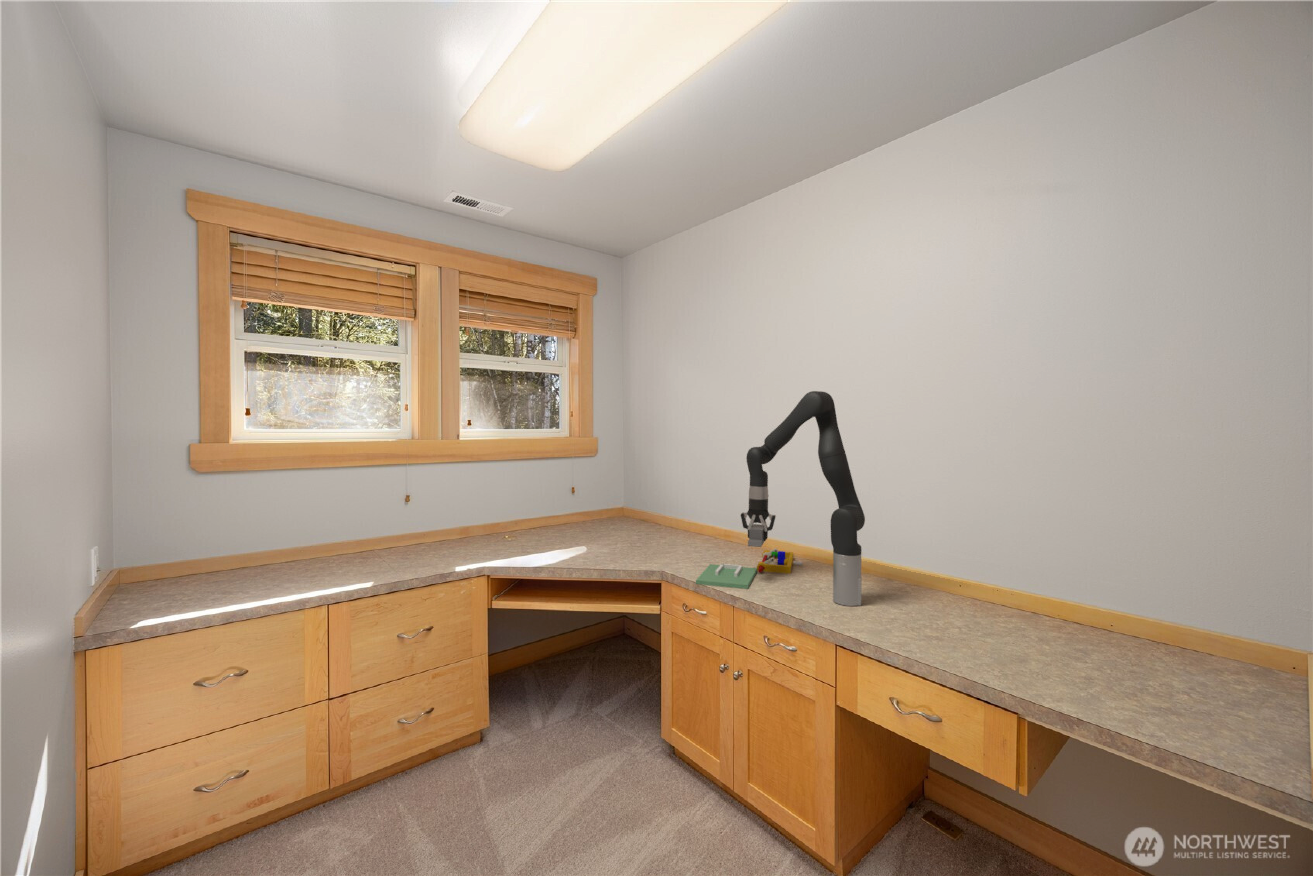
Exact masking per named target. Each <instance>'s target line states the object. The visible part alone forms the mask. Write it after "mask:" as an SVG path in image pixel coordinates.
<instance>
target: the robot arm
mask: <svg viewBox="0 0 1313 876" xmlns="http://www.w3.org/2000/svg"><path fill="white" fill-rule="evenodd" d="M834 401H835V400H834V399H833V397H832V396H831V394H830V393H828V392H827V391H818V390H813V391H812V390H811V391H809V392H807V393H806V394H804V396H803V397H802V398H801V399H800V400H799V401H798V403H797V404H796V405H795V407H794V408H793V410H792V411H791V412H790V413H789V414H788V416H787V417H785V419H784V420H783V421H782V422H781V423H780V424H779V425H778V426H776V427H775V429H773V430H772V431H771V432H770V433H769V434H768V435H767V436H766V437H765V438H764V441H763V442H764V444H763V445H761V446H753V447H751V448H749V449H748V451H747V453H746V464H747V468H748V473H749V489H748V510H747V512H741V513H740V519H741V524H742V528H743V529H746V530H747V538H748V539H749V529H750V528H751V527H752V526H753V524H757V523H758V524H761V525H762V526H763V528H764V541H765V542H766V540H768V538H769V537H768V535H769V531H772V530H773V528H774V525H775V522H776V521H775V520H776V517H777V516H776V515H775V514H771V513H770V512H769V486H768V484H769V476H768V475H769V474H768V472H767V471H766V470H764V469H763V465H766V464H769V463H770V462H771V461H773V459H774V458H775V457H776V455H777V454H778V453H779V451H780V450H781V449H782V448H784V447H785V446H786V445H787V444H788V443H789V442H790V441H791V440H792V439H793V437H794V436H795V434H796V433H797V431H798V430H799V428H800V427H801V426H803V424H805V423H806V422H808V421H810V420H811V419H812V418H815V420H816V424H817V427H818V432H819V435H818V436H819V438H818V449H817V456H818V461H819V464H820V468H821V471H822V474H823V476H824V477H825V479H826V481H827V482H828V484H829V485H830V487H831V489H832V490H833V492H834V494H835V497H836V501H837V506H838V508H837V509H835V510H834V511H833V512H832V514H831V516H830V517H831V518H830V542H831V545H832V548H833V549H832V550H833V551H832V552H833V553H832V561H833V562H832V602H834V604H838V605H840V606H841V605H842V606H847V607H856V606H862V546H861V545H860V544H859V543H858V532H859V531H860V530H861V529H863V527H864V526H865V522H866V516H865V514H864V510H863V508H862V505H861V502H860V500H859V497H858V495H857V491H856V488H855V484H854V480H853V477H852V473H851V470H850V465H849V462H848V457H847V454H846V451H845V447H844V443H843V440H842V436H841V432H840V429H839V428H840V427H839V424H838V420H837V413H836V406H835V402H834ZM747 517H748V518H749V519H750V522H749V524H748V523H747ZM768 518H769V520H770V523H769V526H768V524H767V519H768Z"/></svg>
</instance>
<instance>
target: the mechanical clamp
mask: <svg viewBox="0 0 1313 876" xmlns="http://www.w3.org/2000/svg"><path fill="white" fill-rule="evenodd" d="M761 556H762V561H759V562H758V563H757V566H756V568H757V573H760V574H761V573H762V572H765V573H766V572H767V573H778V574H791V573H792V569H793V565H796V566H804V565H803V563H804V562H803V561H798V560H797V561H796V560H794V551H793V552H792V551H791V552H789V551H780V550H778V549H777V548H776V547H775V548H773V549H772V550H769V549H765V550H763V551H762V554H761ZM775 559H776V561H777V564H772V563H773V562H775Z"/></svg>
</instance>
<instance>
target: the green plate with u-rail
mask: <svg viewBox="0 0 1313 876" xmlns="http://www.w3.org/2000/svg"><path fill="white" fill-rule="evenodd" d="M757 573H758V570H757V567H748V566H747V567H746V566H743V565H740V564H729V563H720V564H713V563H710V564H709V565H708V566H707V567H706V568H705V569H704V570H703V572H702V573H701V574H700V575H699V576H698V577H697V578H696V579H695V584H696V585H704V586H713V587H714V586H715V587H723V588H732V589H741V590H742V589H744V590H748V589H749V587H750V586H751V584H752V582H753V580H754V579H755V576H756V575H757Z"/></svg>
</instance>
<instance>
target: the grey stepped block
mask: <svg viewBox="0 0 1313 876" xmlns="http://www.w3.org/2000/svg"><path fill="white" fill-rule="evenodd" d="M765 542H766V541H764V528H763V526H762V524H760V523H758V524H757V523H754V524H753V526H752V527H751V528H750V529H749V538H748V540H747V546H748V547H754V548H762V546H763V544H765Z"/></svg>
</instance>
